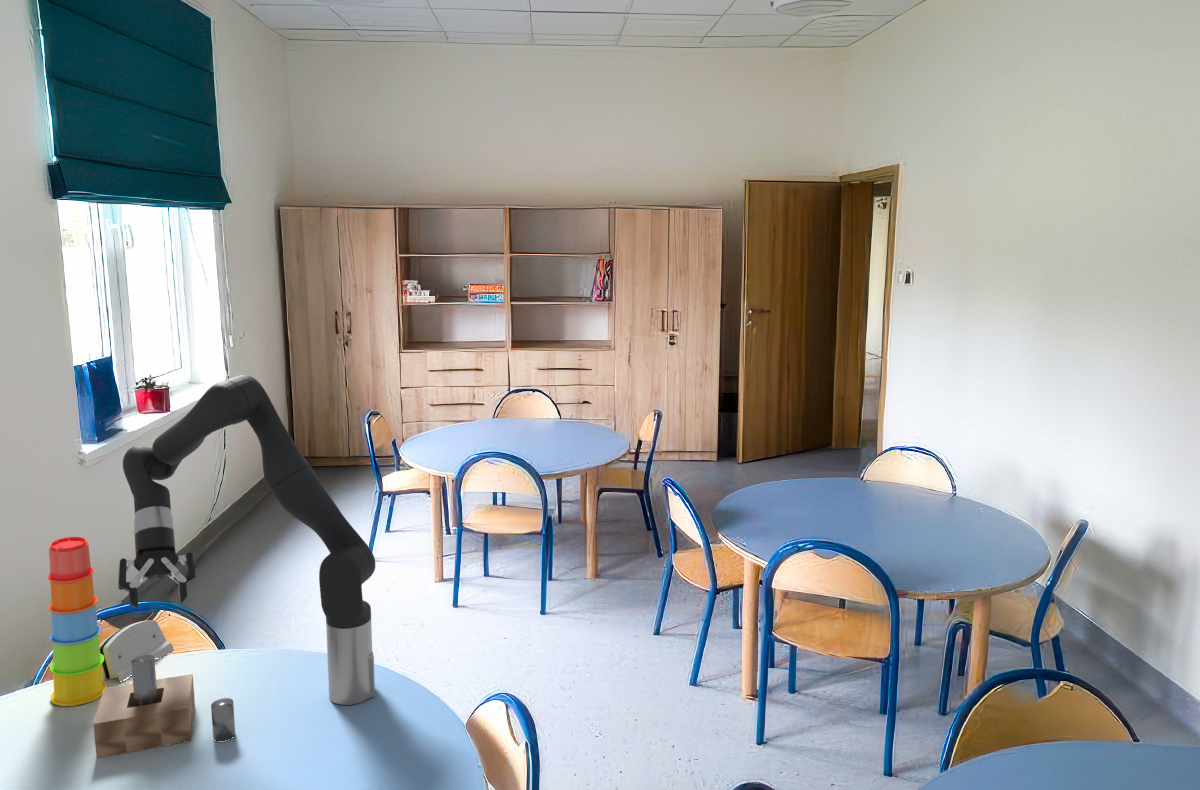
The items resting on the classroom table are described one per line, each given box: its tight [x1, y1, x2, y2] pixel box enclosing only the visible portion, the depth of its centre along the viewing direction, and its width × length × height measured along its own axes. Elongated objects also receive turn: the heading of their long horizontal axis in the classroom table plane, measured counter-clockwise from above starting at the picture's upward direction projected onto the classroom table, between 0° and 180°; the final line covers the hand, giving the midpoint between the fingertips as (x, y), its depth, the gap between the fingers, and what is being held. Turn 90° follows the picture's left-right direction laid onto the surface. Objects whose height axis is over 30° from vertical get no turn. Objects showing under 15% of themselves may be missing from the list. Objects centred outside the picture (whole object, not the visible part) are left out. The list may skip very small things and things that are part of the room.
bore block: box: [92, 673, 196, 759], centre depth 168 cm, size 16×14×7 cm
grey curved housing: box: [99, 620, 175, 682], centre depth 194 cm, size 17×5×10 cm, turn 167°
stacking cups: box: [47, 536, 108, 707], centre depth 178 cm, size 10×10×35 cm
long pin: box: [131, 655, 158, 707], centre depth 168 cm, size 4×4×15 cm
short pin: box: [210, 697, 236, 742], centre depth 167 cm, size 4×4×7 cm
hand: (159, 604), depth 176 cm, fingers open, 8 cm apart
